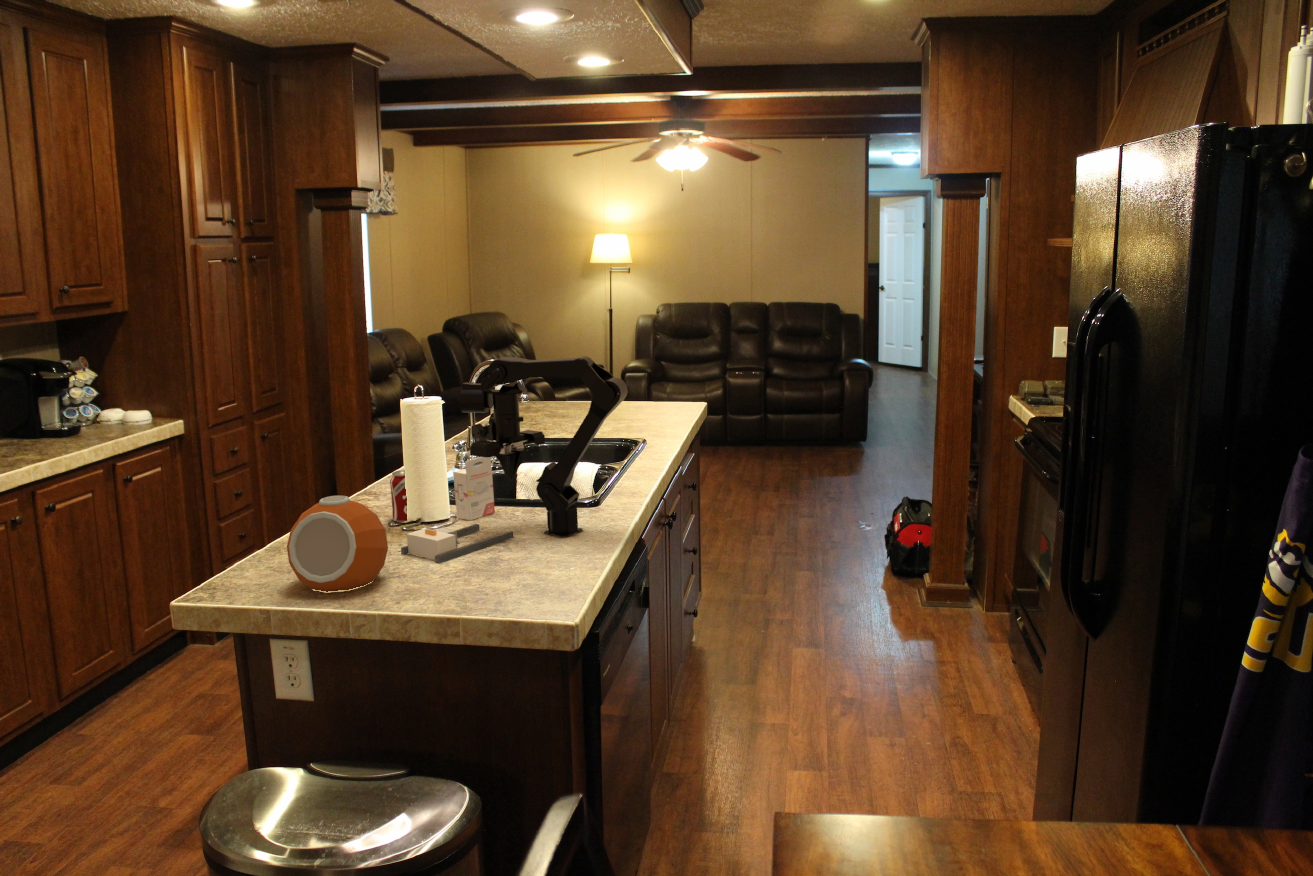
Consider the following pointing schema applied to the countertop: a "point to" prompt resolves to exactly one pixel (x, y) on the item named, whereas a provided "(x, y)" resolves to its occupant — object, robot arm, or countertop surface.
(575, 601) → the countertop surface
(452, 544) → the block
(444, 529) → the usb wall charger
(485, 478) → the ink cartridge box
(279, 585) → the countertop surface
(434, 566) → the countertop surface
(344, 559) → the alarm clock
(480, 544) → the gray rail frame
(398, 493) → the soda can
